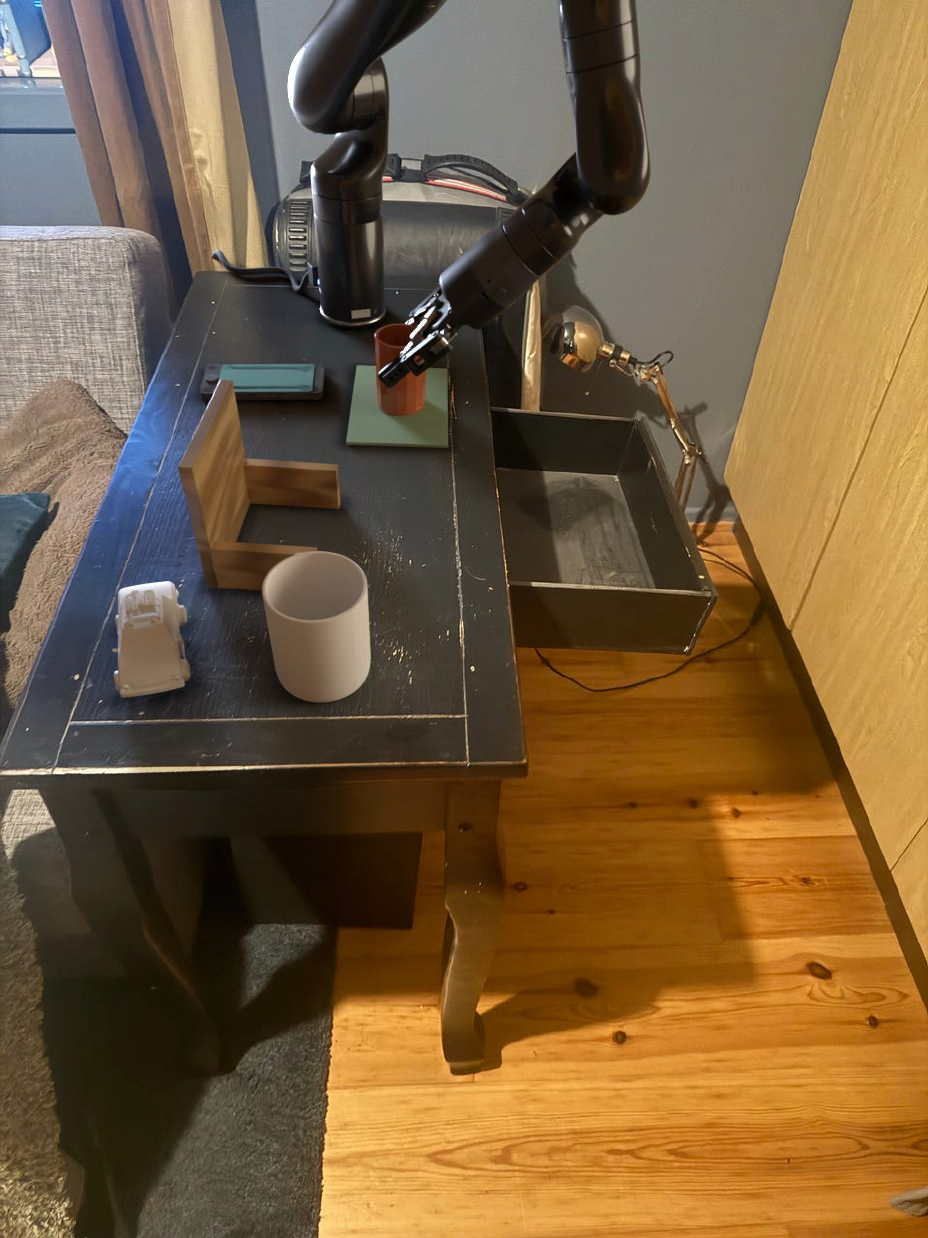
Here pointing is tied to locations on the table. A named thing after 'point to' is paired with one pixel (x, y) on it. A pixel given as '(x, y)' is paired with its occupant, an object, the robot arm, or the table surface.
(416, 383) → the cup
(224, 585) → the cubby
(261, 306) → the table surface
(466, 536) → the table surface
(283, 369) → the smartphone
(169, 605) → the toy car
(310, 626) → the mug
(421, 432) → the mat
